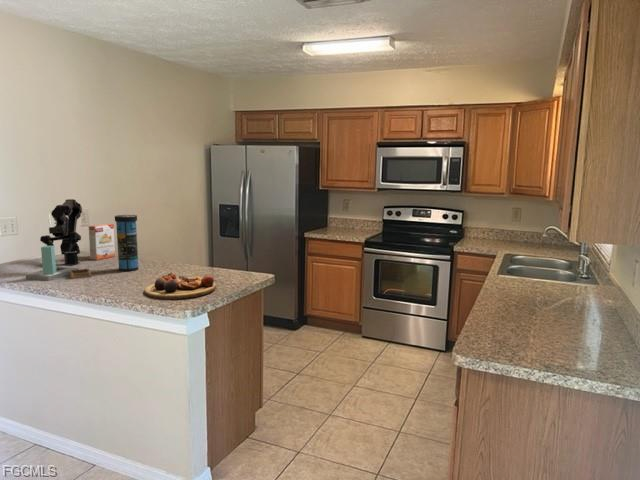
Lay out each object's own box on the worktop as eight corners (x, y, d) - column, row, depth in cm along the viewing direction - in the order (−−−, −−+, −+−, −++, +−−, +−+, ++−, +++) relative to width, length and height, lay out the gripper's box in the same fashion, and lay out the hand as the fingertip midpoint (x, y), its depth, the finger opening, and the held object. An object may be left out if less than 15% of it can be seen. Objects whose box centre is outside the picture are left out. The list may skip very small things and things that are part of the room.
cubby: (69, 275, 235) (68, 270, 235) (88, 273, 240) (88, 268, 240) (71, 279, 228) (71, 274, 228) (91, 276, 233) (91, 272, 233)
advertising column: (119, 267, 254) (116, 214, 249) (140, 267, 257) (138, 214, 252) (115, 272, 243) (112, 217, 238) (138, 271, 246) (135, 216, 241)
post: (46, 272, 231) (44, 245, 229) (56, 272, 232) (54, 245, 230) (43, 274, 227) (40, 247, 225) (53, 274, 228) (50, 247, 225)
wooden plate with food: (227, 285, 222) (227, 268, 221) (194, 302, 192) (193, 283, 191) (170, 281, 230) (169, 265, 229) (129, 297, 200) (128, 279, 199)
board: (25, 278, 227) (25, 274, 227) (57, 270, 247) (57, 266, 246) (48, 280, 224) (48, 276, 224) (79, 271, 243) (78, 267, 243)
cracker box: (97, 260, 272) (94, 226, 269) (90, 259, 274) (87, 225, 271) (115, 256, 285) (113, 223, 281) (108, 255, 287) (106, 223, 284)
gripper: (35, 222, 236) (32, 249, 230) (72, 217, 237) (70, 244, 231) (47, 230, 246) (44, 257, 240) (82, 226, 247) (80, 252, 241)
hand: (59, 252), depth 238 cm, fingers open, 9 cm apart
